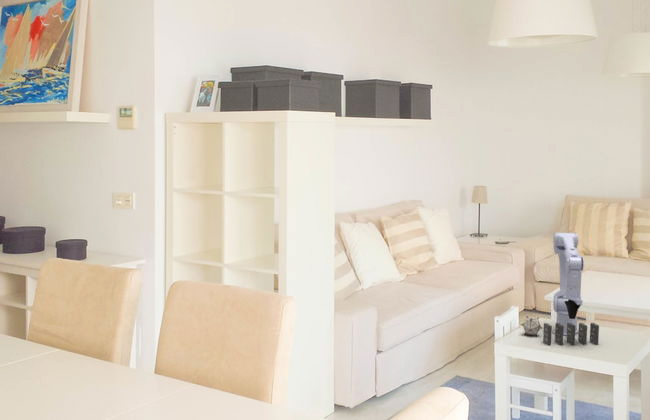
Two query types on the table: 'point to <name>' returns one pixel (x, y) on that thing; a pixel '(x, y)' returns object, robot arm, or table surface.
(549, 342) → the domino
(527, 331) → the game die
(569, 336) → the domino
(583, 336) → the domino
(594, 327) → the domino
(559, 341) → the domino
